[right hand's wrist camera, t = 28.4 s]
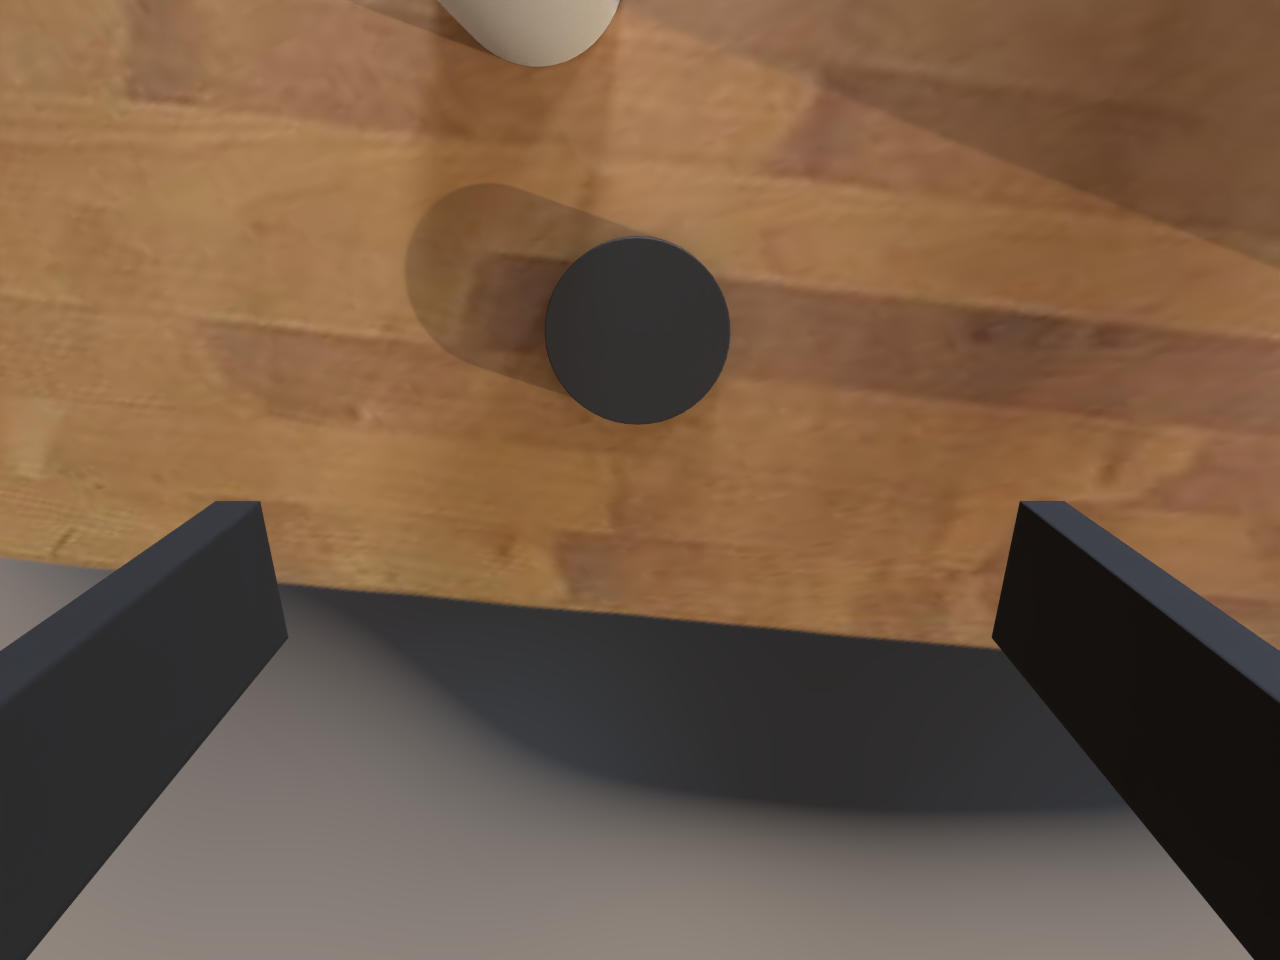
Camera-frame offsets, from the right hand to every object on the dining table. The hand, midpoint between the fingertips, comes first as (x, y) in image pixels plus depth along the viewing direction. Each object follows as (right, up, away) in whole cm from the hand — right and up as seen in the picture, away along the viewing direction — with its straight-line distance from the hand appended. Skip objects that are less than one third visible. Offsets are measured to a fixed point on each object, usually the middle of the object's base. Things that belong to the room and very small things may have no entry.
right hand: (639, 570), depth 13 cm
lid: (0, +9, +24) cm, 25 cm away
